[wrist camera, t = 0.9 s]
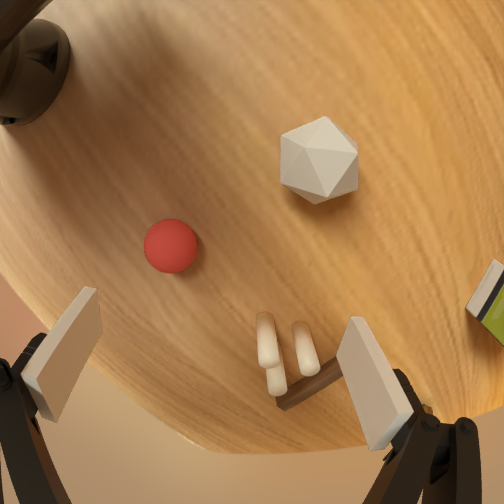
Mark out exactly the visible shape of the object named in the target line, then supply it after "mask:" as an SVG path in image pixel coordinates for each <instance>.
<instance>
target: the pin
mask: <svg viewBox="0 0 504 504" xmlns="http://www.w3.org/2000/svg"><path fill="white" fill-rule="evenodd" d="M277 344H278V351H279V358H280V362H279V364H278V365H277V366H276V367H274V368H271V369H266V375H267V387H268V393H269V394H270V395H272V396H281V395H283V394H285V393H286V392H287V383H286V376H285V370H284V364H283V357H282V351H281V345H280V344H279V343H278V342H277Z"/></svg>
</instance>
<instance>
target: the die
mask: <svg viewBox="0 0 504 504" xmlns="http://www.w3.org/2000/svg"><path fill="white" fill-rule="evenodd" d="M280 183H281V184H282V185H284V186H285V187H287V188H289V189H290V190H292V191H294V192H295V193H297V194H298V195H300V196H301V197H303V198H305V199H306V200H308V201H309V202H311V203H313V204H314V205H315V204H318V203H321V202H324V201H326V200H329V199H332V198H335V197H338V196H341V195H344V194H347V193H350V192H353V191H355V190H358V148H357V143H356V142H355V141H354V140H353V139H352V138H351V137H350V136H348V135H347V134H346V133H345V132H344V131H343V130H342V129H341V128H339V127H338V126H337V125H336V124H335V123H334V122H333V121H331V120H330V119H329V118H328V117H327V116H325V117H322V118H320V119H317V120H315V121H313V122H310V123H308V124H305V125H303V126H301V127H298V128H296V129H294V130H291V131H289V132H287V133H285V134H282V135H281V156H280Z"/></svg>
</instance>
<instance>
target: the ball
mask: <svg viewBox="0 0 504 504" xmlns="http://www.w3.org/2000/svg"><path fill="white" fill-rule="evenodd" d="M196 251H197V241H196V237H195V235H194V233H193V231H192V230H191V228H190V227H189V226H188V225H186V224H185V223H183V222H181V221H179V220H175V219H166V220H162V221H160V222H158V223H156V224H155V225H153V226H152V227H151V228H150V230H149V231H148V233H147V234H146V237H145V241H144V252H145V256H146V258H147V260H148V261H149V263H150V264H151V265H152V266H153V267H154V268H155V269H157V270H159V271H161V272H164V273H176V272H180V271H182V270H184V269H185V268H187V267H188V266H189V265H190V264H191V263H192V261H193V259H194V258H195V255H196Z"/></svg>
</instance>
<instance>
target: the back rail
mask: <svg viewBox="0 0 504 504" xmlns="http://www.w3.org/2000/svg"><path fill="white" fill-rule="evenodd" d="M342 376H343V373H342V370H341V368H340V365H339V362H338V360H337V357H334V358H333V359H331V360H330V361H329V362H327V363H326V364H324V365H323V366H321V367H320V371H319V372H318V373H317V374H315V375H313V376H306V377H305V378H303V379H301V380H300V381H298V382H297V383H295V384H294V385H292V386H290V387H289V388H287V392H286V393H285V394H283V395H281V396H276V401H277V407H279V408H280V409H282V410H284V411H286V410H288V409H290V408H292V407H293V406H295V405H297V404H299V403H300V402H302V401H304V400H305V399H307V398H309V397H310V396H312V395H314V394H315V393H317V392H318V391H320V390H322V389H323V388H325V387H326V386H328V385H330V384H331V383H333V382H334V381H336V380H337V379H339V378H340V377H342Z"/></svg>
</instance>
